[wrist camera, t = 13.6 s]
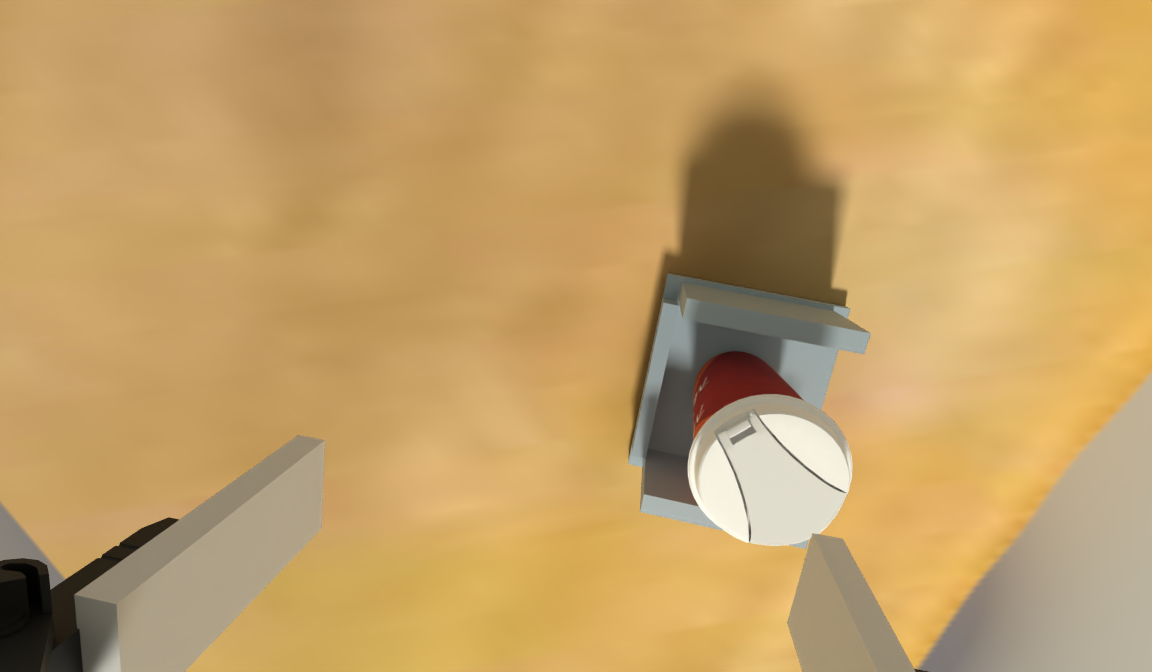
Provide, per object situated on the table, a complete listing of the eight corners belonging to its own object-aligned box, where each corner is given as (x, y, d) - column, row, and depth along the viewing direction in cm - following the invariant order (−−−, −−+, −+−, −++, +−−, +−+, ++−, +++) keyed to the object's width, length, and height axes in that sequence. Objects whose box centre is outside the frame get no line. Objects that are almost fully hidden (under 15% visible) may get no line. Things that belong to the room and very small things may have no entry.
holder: (667, 272, 41) (670, 289, 33) (845, 306, 40) (891, 331, 32) (628, 458, 44) (622, 512, 37) (792, 493, 43) (821, 557, 36)
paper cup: (656, 372, 42) (657, 456, 28) (755, 313, 40) (806, 372, 26) (716, 462, 42) (745, 585, 29) (815, 408, 41) (894, 512, 27)
